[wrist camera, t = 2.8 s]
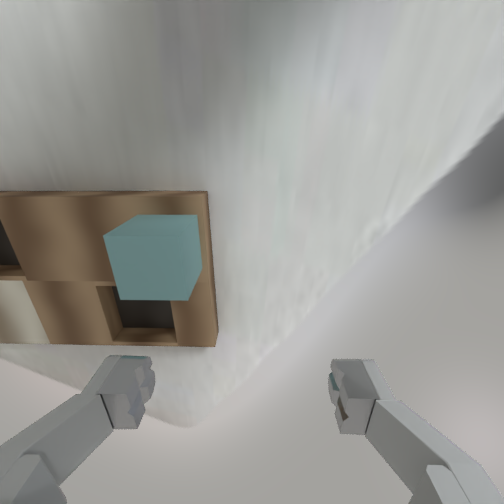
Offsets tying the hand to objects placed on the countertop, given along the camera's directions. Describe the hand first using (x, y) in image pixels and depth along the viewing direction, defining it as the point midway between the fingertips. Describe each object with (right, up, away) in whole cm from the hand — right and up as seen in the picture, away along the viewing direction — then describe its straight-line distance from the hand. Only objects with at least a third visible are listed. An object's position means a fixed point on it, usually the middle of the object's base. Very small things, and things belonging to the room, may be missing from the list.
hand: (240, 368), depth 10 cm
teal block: (-7, +5, +12) cm, 15 cm away
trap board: (-17, +3, +16) cm, 23 cm away
